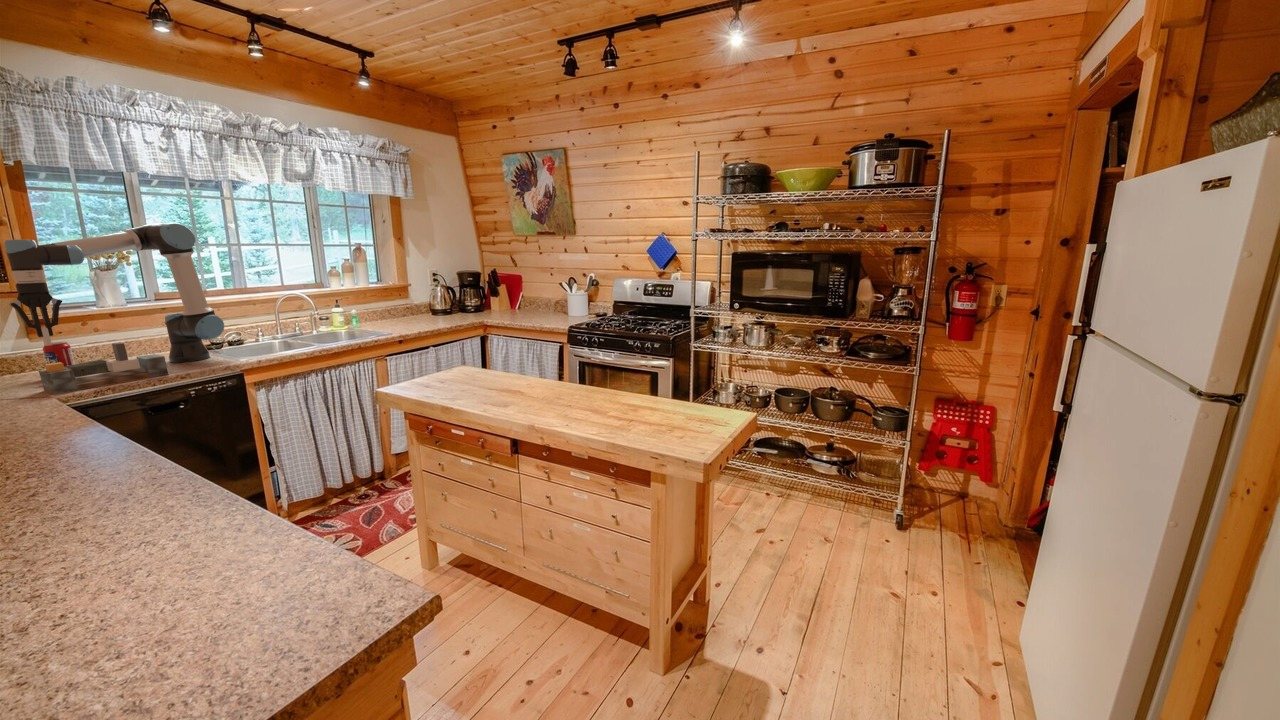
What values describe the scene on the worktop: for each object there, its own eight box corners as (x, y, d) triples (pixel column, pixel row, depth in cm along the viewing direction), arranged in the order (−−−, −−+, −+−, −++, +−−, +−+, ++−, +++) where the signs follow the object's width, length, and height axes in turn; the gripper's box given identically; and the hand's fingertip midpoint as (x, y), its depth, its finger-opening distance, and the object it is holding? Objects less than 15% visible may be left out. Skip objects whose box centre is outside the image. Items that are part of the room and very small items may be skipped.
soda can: (81, 375, 221) (72, 341, 217) (55, 379, 214) (45, 344, 210) (73, 373, 224) (64, 340, 221) (47, 378, 217) (38, 343, 214)
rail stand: (158, 371, 224) (154, 354, 222) (168, 374, 219) (164, 356, 217) (44, 391, 196) (38, 370, 194) (52, 394, 190) (46, 373, 188)
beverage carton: (118, 373, 224) (114, 358, 223) (64, 384, 206) (59, 369, 204) (103, 372, 226) (99, 358, 224) (48, 384, 207) (43, 368, 206)
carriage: (134, 366, 216) (128, 341, 213) (140, 368, 212) (134, 342, 210) (108, 370, 209) (101, 344, 207) (114, 372, 205) (107, 345, 203)
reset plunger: (63, 373, 197) (60, 362, 196) (66, 374, 195) (63, 363, 194) (47, 375, 194) (44, 364, 193) (50, 376, 192) (47, 365, 191)
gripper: (5, 283, 179) (24, 349, 185) (59, 281, 190) (76, 343, 195) (0, 283, 183) (19, 347, 188) (54, 281, 194) (70, 341, 199)
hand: (48, 345), depth 192 cm, fingers closed
